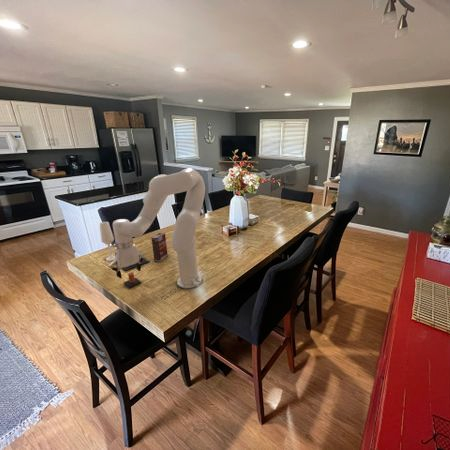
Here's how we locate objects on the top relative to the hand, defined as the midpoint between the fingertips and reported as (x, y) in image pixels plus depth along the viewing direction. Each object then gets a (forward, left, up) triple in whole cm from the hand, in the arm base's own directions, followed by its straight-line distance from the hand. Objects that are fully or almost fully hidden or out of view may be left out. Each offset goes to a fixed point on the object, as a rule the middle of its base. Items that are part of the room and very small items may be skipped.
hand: (129, 273), depth 124 cm
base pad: (+23, -10, -6) cm, 26 cm away
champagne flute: (+39, -4, -6) cm, 39 cm away
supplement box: (+15, -25, -6) cm, 30 cm away
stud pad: (0, 0, -6) cm, 6 cm away
